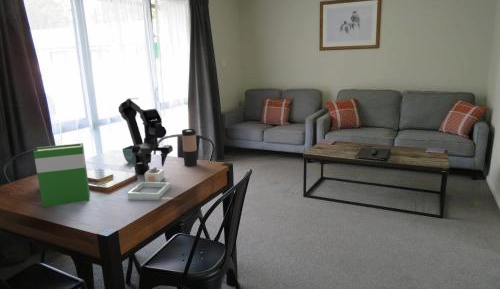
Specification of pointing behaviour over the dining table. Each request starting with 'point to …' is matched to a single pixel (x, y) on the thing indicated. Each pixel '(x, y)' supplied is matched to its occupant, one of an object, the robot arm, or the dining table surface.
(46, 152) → the hardback book
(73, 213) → the dining table surface
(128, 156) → the flower pot
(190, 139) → the travel mug
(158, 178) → the collar
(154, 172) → the stand
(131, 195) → the tray
